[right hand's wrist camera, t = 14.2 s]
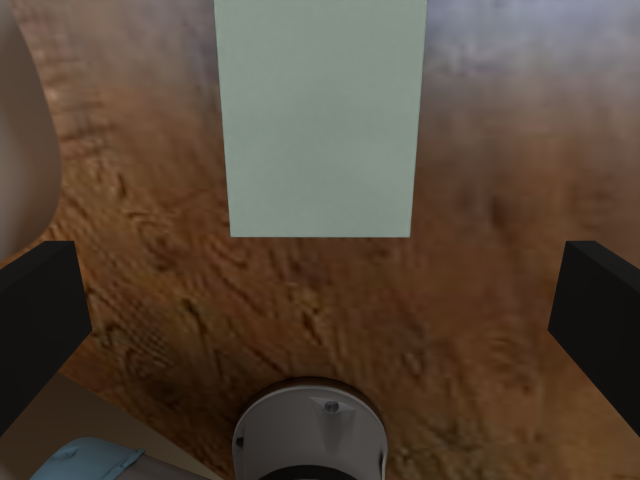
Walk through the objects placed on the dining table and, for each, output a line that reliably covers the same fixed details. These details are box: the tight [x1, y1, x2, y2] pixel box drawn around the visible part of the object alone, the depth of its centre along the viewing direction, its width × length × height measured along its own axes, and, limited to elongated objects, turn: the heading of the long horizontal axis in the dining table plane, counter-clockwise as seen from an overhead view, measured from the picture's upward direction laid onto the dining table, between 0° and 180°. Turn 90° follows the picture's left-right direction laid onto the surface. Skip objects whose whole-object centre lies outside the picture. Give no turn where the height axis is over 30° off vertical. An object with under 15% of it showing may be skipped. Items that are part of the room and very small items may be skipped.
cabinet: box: [213, 0, 428, 237], centre depth 28 cm, size 18×10×12 cm, turn 0°
